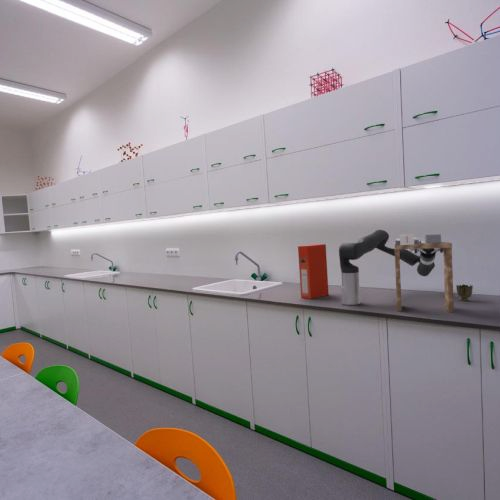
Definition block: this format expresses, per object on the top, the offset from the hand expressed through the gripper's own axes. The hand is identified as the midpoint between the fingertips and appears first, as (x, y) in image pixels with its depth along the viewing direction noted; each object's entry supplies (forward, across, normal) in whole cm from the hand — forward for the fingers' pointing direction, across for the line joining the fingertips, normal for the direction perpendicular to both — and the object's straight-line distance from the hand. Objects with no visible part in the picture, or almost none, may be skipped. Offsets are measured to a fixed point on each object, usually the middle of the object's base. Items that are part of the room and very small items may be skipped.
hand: (429, 242), depth 185 cm
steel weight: (+9, 0, +5) cm, 10 cm away
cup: (-21, +16, +24) cm, 36 cm away
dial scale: (+14, -12, +8) cm, 20 cm away
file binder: (-27, -64, +21) cm, 73 cm away
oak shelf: (-2, -5, +35) cm, 36 cm away
